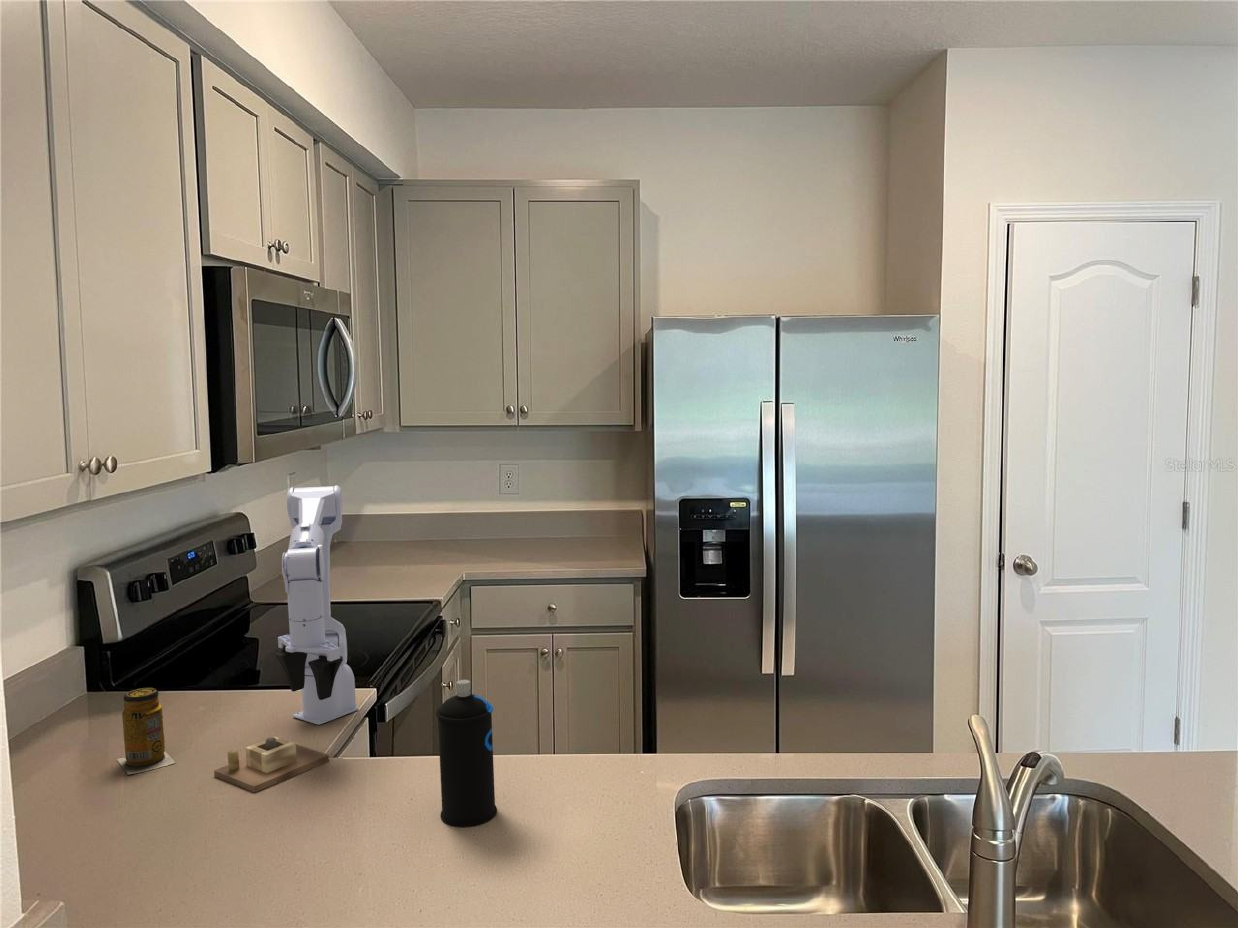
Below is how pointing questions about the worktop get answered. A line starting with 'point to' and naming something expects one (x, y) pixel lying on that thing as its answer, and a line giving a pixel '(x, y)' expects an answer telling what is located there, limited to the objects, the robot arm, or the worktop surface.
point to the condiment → (143, 732)
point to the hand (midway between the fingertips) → (311, 693)
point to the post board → (259, 780)
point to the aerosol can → (466, 758)
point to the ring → (270, 755)
